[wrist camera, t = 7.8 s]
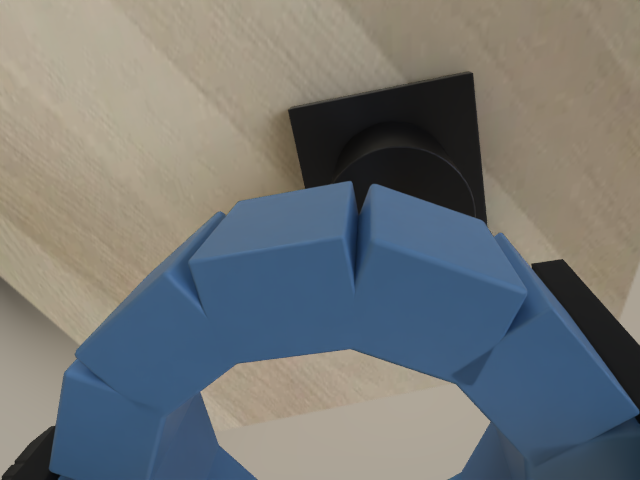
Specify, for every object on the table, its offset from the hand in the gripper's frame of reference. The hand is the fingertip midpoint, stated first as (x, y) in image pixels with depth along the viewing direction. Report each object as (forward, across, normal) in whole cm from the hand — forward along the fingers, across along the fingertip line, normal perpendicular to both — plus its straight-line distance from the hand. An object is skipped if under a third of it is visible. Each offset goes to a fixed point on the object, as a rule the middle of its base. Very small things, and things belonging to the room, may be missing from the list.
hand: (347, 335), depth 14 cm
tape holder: (+24, +2, -2) cm, 24 cm away
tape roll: (-3, 0, 0) cm, 3 cm away
